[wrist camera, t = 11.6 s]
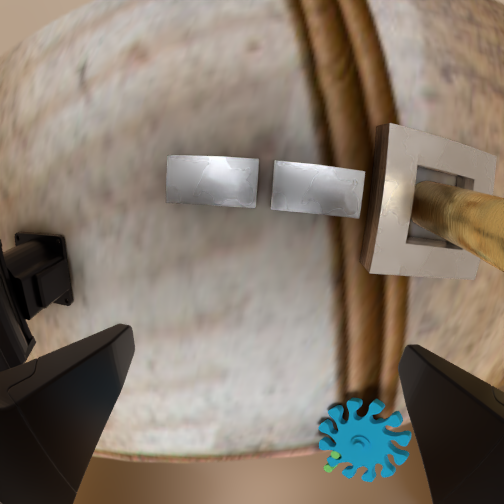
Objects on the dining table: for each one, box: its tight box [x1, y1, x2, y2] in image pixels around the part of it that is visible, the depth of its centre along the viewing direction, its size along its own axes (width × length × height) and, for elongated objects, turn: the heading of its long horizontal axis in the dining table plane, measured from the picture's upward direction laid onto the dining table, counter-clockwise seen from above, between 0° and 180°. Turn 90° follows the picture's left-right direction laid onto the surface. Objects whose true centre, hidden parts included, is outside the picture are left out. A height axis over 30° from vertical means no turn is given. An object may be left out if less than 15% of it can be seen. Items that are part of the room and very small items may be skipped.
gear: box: [318, 398, 411, 482], centre depth 25 cm, size 11×6×10 cm
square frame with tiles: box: [166, 123, 496, 280], centre depth 19 cm, size 38×10×2 cm, turn 86°
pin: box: [410, 181, 504, 272], centre depth 14 cm, size 4×4×12 cm
